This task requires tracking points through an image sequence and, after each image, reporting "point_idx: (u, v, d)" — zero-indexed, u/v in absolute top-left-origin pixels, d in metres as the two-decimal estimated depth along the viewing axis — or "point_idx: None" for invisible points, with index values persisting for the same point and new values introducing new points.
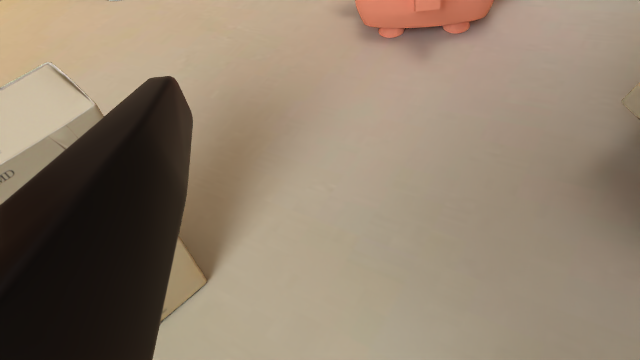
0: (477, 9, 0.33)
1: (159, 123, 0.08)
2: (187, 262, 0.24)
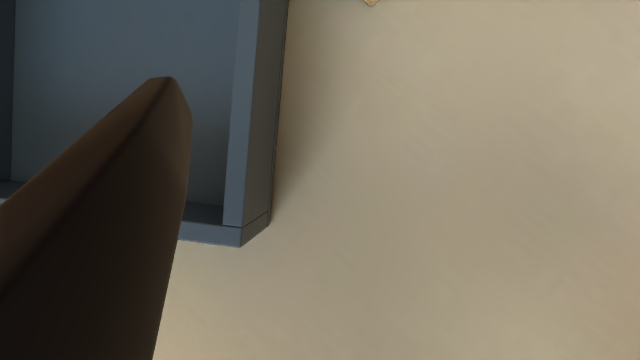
0: None
1: (159, 123, 0.08)
2: None
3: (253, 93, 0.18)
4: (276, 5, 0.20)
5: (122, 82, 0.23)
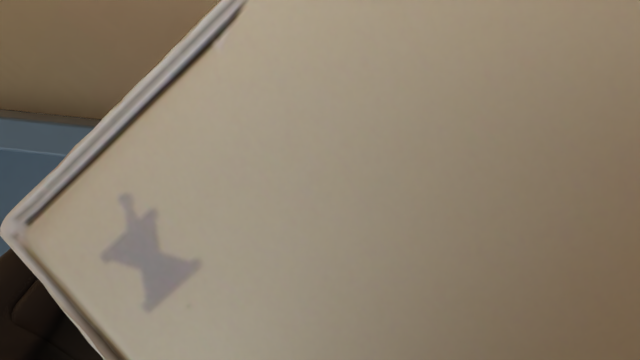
0: None
1: None
2: None
3: None
4: None
5: None
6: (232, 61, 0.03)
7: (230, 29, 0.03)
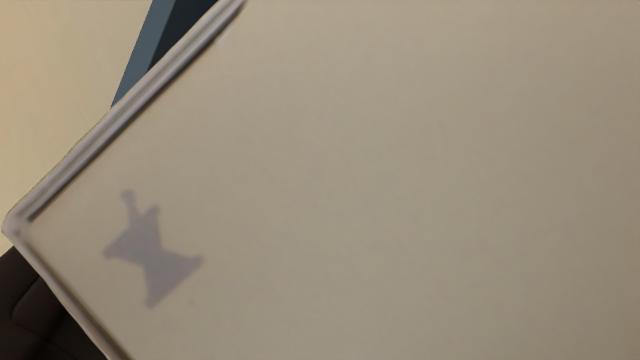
0: None
1: None
2: None
3: None
4: None
5: None
6: (234, 58, 0.03)
7: (232, 26, 0.03)
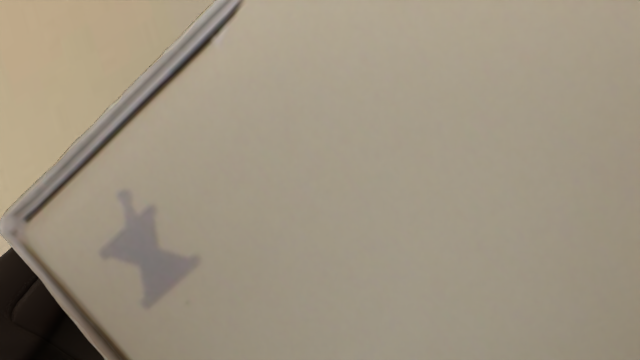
0: None
1: None
2: None
3: None
4: None
5: None
6: (231, 57, 0.03)
7: (229, 25, 0.03)
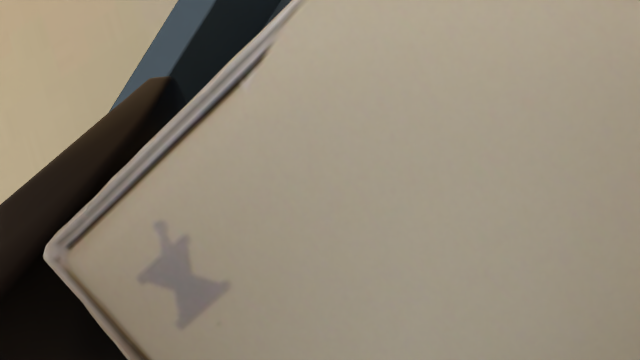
0: None
1: (159, 123, 0.08)
2: None
3: None
4: None
5: None
6: (258, 100, 0.03)
7: (256, 71, 0.03)
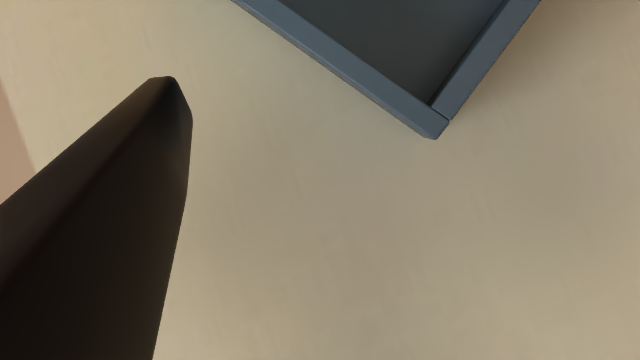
0: None
1: (159, 123, 0.08)
2: None
3: None
4: None
5: None
6: None
7: None
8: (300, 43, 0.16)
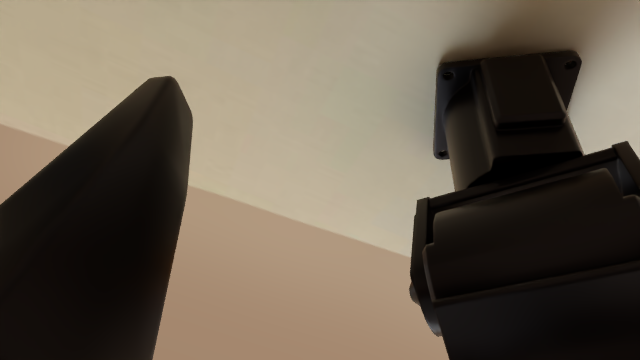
0: None
1: (159, 123, 0.08)
2: None
3: None
4: None
5: None
6: None
7: None
8: None
